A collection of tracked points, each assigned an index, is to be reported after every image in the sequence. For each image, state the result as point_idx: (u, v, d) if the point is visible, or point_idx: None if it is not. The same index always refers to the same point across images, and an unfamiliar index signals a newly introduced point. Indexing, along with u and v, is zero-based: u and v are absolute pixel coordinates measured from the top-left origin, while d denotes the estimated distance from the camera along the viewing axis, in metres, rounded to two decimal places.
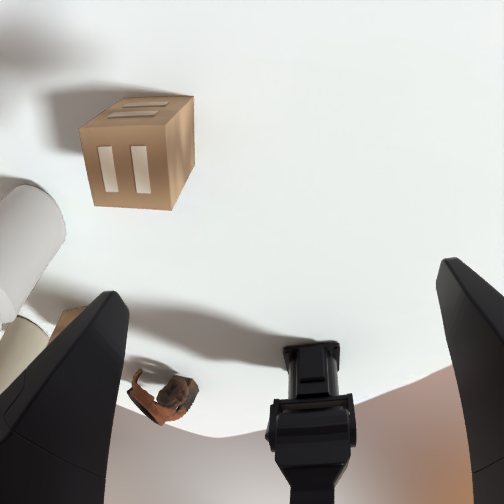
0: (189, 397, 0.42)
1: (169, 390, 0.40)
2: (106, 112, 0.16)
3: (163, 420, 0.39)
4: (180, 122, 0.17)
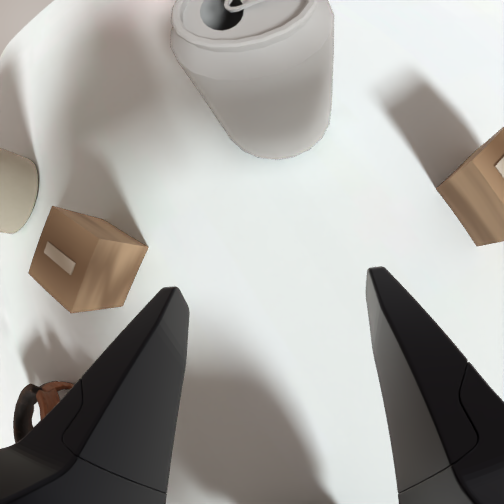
0: None
1: None
2: None
3: None
4: None
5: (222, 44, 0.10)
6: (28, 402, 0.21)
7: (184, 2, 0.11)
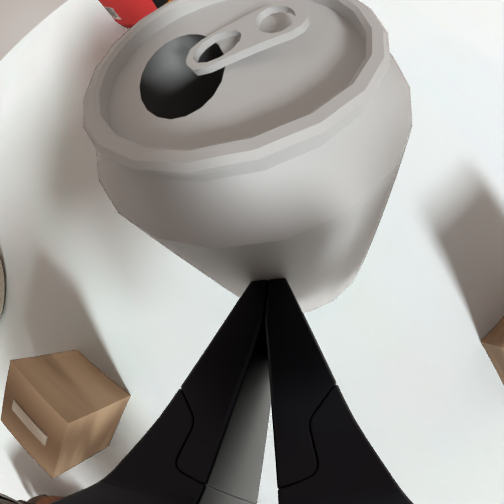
0: None
1: None
2: None
3: None
4: None
5: (155, 163, 0.04)
6: None
7: (119, 57, 0.06)
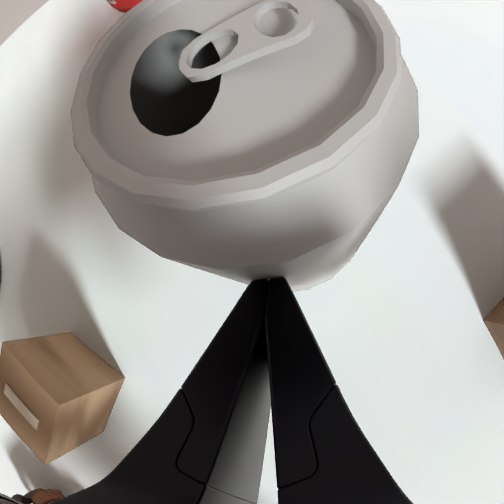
0: None
1: None
2: None
3: None
4: None
5: (156, 198, 0.04)
6: None
7: (105, 58, 0.05)
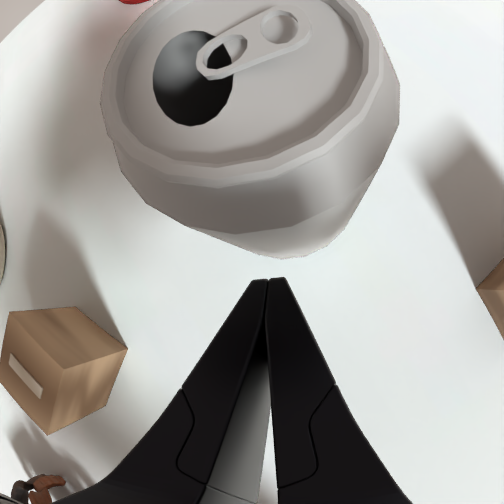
0: None
1: None
2: None
3: None
4: None
5: (187, 178, 0.05)
6: (22, 492, 0.16)
7: (126, 55, 0.06)
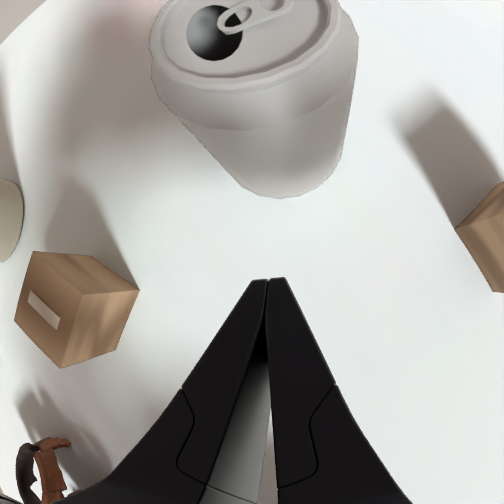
0: None
1: None
2: None
3: None
4: None
5: (214, 85, 0.08)
6: (27, 457, 0.19)
7: (166, 20, 0.09)
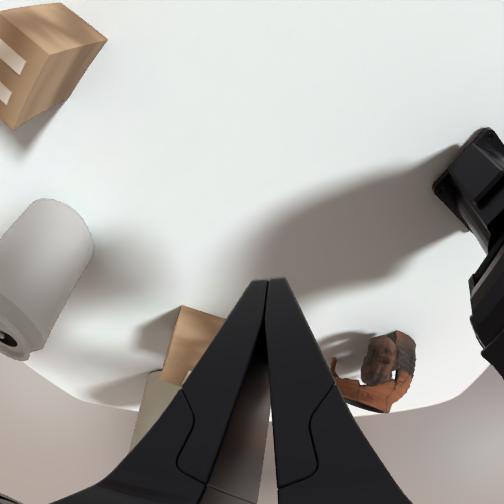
0: (404, 355, 0.28)
1: (372, 360, 0.28)
2: None
3: (386, 403, 0.27)
4: (35, 11, 0.10)
5: (22, 346, 0.16)
6: None
7: (10, 353, 0.18)
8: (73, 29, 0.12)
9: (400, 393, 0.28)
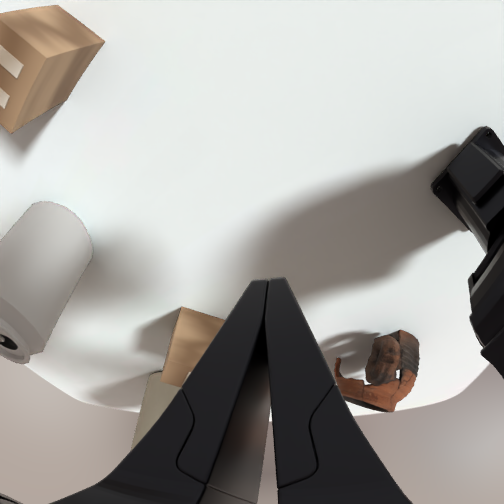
0: (408, 354, 0.28)
1: (376, 359, 0.28)
2: None
3: (390, 402, 0.27)
4: (32, 14, 0.10)
5: (23, 350, 0.16)
6: None
7: (10, 356, 0.18)
8: (70, 31, 0.12)
9: (404, 392, 0.28)
